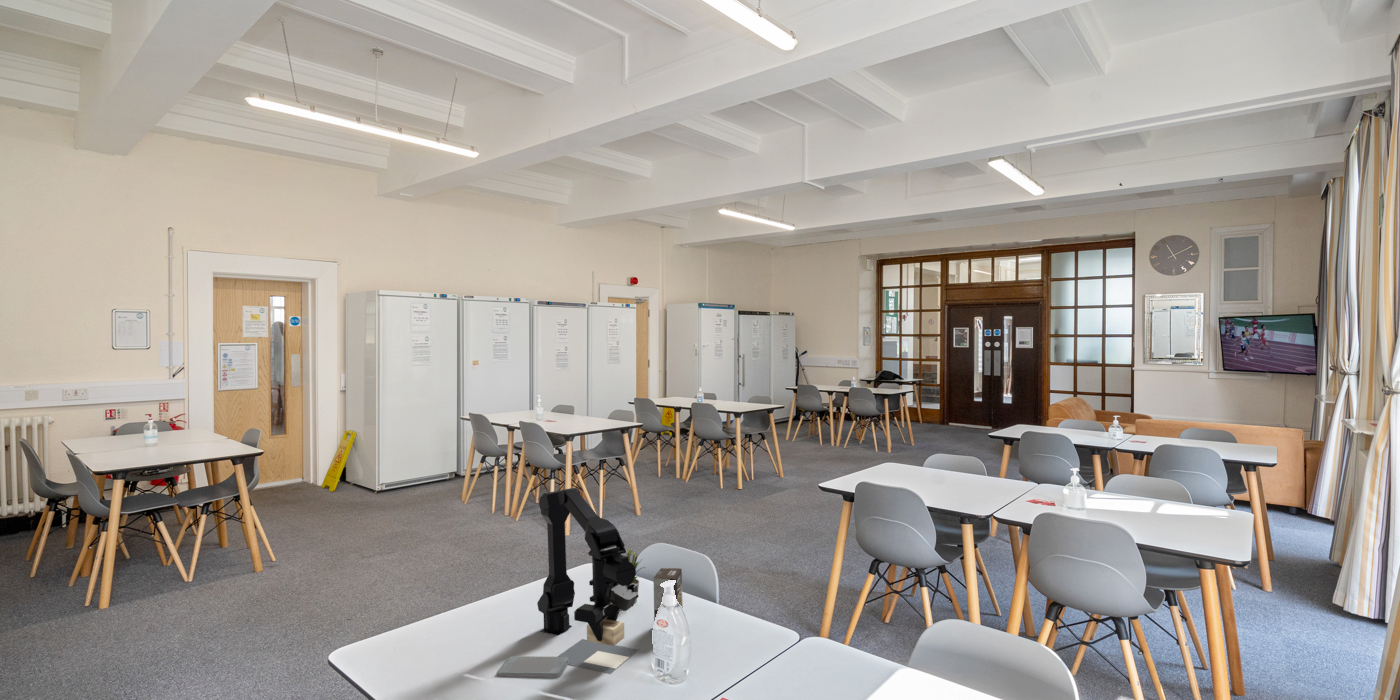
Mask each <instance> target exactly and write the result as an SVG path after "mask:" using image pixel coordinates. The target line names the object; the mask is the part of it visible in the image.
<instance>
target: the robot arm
mask: <svg viewBox="0 0 1400 700" xmlns="http://www.w3.org/2000/svg"><path fill="white" fill-rule="evenodd" d="M538 506H539V509H540V515H541V516H542V518H543V519H544V521H545V522H546V524H547V526H546V527H547V528H546V529H547V552H548V554H547V556H548V557H547V558H548V574H547V577H546V579H545V581H544V583H543V585H542V586H543V591H542V594H541V596H540V597H539V599H538V601H537V603H536V604H537V609H538V611H539V612H540V613H542V614H543V628H542V629H541V630H539V631H540V633H544V634H549V635H550V634H551V635H555V636H560V635H561V634H563V633H564V632H566V631H568V630H569V629H570V628H572V625H570V614H569V608H572V607H573V605H574V601H575V595H576V592H575V582H574V580H572V579H571V577H570V576H569V575H568V573H567V572H568V570H567V546H566V544H567V543H566V521H567V519H568V518H569V516H570V515H572V517H573V518H574V519H575V521H576V522H577V523H578V525H580V527H581V529H583V531H584V540H585V543H587V546H588V548H589V550H590V551H588V552H587V554H588V556H590V557H591V564H592V565H591V566H592V579H590V580H589V581H588V582H589V586H592V596H591V595H590V597H589V602H592V603H594V604H589V603H583V604H582V605H580V606H578V607H577V608H576V609H575V610H574V611H573V613H574V616H573V617H574V621H577V622H583V623H587V625H588V624H589V626H590V627H591V629H592V631H593V633H594V635H595V637H596V639H597V640H598V641H602V636H603V622H604V620H605V619H608V620H614V621H618V620H617V619H618V617H619V613H620V610H621V611H623V612H627V611H628V610H629V609H630V608H632V607H634V605H635V604H634V602H635V599H636V598H637V599H638V598H639V588H638V587H637V585H636V584H634V583H632V584H630V583H631V582H632V581H633V580H634V578H635V577H636V575H637V573H636V572H637V568H636V569H635V567H634V565H633V564H634V563H633V564H632V561H630V562H629V559H628V556H627V555H624V554H627V550H626V548H625V546H626V545H625V542H624V540H622V537H621V534H620V532H619V530H618V529H617V527H616V525H614V524H613V523H612V522H611V521H609V520H608V519H605V518H602V517H600V516H599V515H598V514H597V513H596V512H595V510H594V509H593V507H591V506H590V504H589V503H588V502H587V501H586V500H585V498H584V497H583V496H582V495H581V492H580V489H578V488H577V487H571V488H565V489H561V490H555V491H554V490H553V491H549V492H544V493H542V495H541V496H540V497H539V500H538ZM629 584H630V585H629ZM621 585H622V586H621ZM626 585H629V586H626Z"/></svg>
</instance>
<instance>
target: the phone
mask: <svg viewBox="0 0 1400 700" xmlns="http://www.w3.org/2000/svg"><path fill="white" fill-rule="evenodd" d="M568 663H569V658H568V657H557V656H533V655H531V656H525V655H524V656H523V655H522V656H520V655H519V656H515V655H514V656H513V655H511V656H508V657H507V659H506V660H505V661H504V662H503V664H502V665H501V666H500V668H499V669H498V670H497V672H496V675H497V676H498V677H516V678H517V677H519V678H520V677H522V678H525V677H526V678H554V679H558V678H560V677H561V676H562V675H563V672H565V669H566V668H567V667H568V666H569V665H568Z"/></svg>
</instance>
